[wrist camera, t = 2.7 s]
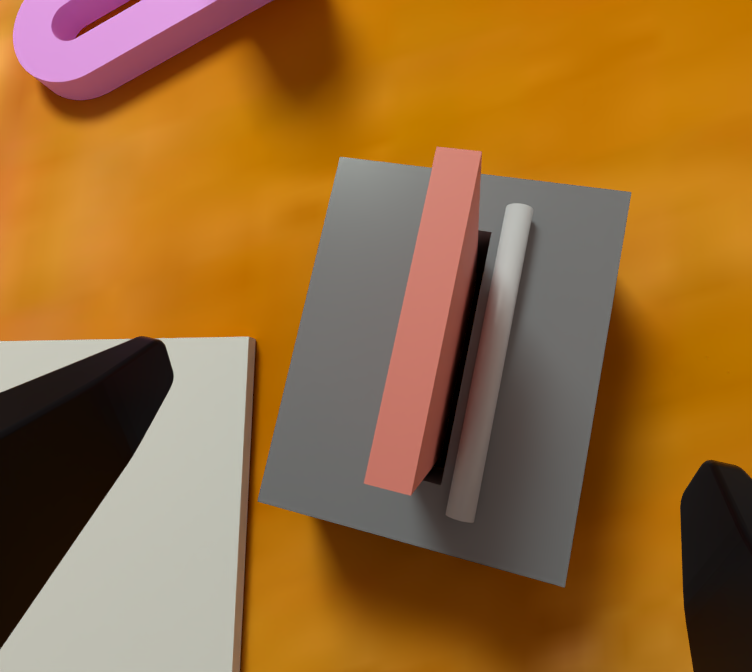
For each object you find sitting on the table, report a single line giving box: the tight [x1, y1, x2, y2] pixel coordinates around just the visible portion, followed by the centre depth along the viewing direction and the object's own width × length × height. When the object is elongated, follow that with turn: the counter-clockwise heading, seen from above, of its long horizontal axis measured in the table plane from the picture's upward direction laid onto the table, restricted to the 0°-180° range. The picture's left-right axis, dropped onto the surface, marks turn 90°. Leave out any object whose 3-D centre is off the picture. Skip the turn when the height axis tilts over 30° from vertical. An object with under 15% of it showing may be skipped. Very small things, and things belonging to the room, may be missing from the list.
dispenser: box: [258, 157, 631, 587], centre depth 15 cm, size 10×8×5 cm
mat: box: [0, 337, 256, 672], centre depth 19 cm, size 14×12×1 cm
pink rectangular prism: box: [364, 147, 482, 496], centre depth 13 cm, size 6×1×9 cm, turn 167°
